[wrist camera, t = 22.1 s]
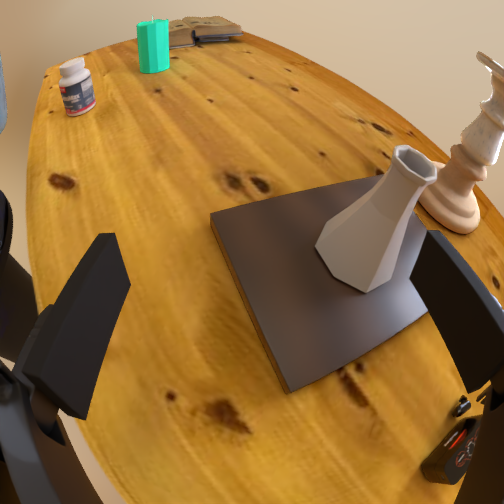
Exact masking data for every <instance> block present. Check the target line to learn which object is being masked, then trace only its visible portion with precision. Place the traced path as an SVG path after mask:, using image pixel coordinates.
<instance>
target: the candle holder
mask: <svg viewBox="0 0 504 504" xmlns="http://www.w3.org/2000/svg"><path fill="white" fill-rule="evenodd" d="M476 57H477V59H478V60H479V61H480V62H481V63H483V64H484V65H485V66H486V67H487V68H488V69H489V70H490V71H491V84H492V87H493V93H492V96H491V98H490V99H489V100H488V101H482V102H480V107H481V109H482V112H481V113H480V115H479V116H478V117H477V118H476V119H475V120H474V121H473V122H472V123H471V124H470V125H469V126H468V127H466V128H465V129H464V130H463V131H462V133H461V142H462V144H458V145H453V146H452V147H451V159H450V160H449V162H448V163H447V164H446V165H444V164H442V163H439V162H433V161H430V162H431V163H432V164H433V165H434V166H435V167H436V168H437V180H436V181H435V182H434V183H433V184H429V185H427V186H426V187H425V189H424V190H423V192H422V193H421V195H420V196H419V198H418V201H419V202H420V204H421V205H422V206H423V207H424V208H425V210H426V211H427V212H428V213H429V214H430V215H431V216H432V217H433V218H435V219H436V220H437V221H438V222H439V223H441V224H442V225H443V226H445V227H447V228H448V229H450V230H452V231H454V232H457V233H462V234H467V233H470V232H472V231H474V230H475V229H476V228H477V226H478V224H479V221H480V212H479V208H478V205H477V202H476V198H475V195H474V193H473V191H472V188H473V186H474V185H475V183H476V181H483V180H485V179H486V175H487V174H486V166H491V165H493V164H494V163H495V162H496V160H497V157H498V153H499V150H500V146H501V143H502V141H503V138H504V68H503V67H502V66H500V65H499V64H498V63H496V62H495V61H494V60H492V59H491V58H489V57H488V56H486V55H485V54H483V53H482V52H478V53H477V55H476Z"/></svg>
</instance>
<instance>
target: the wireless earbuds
mask: <svg viewBox="0 0 504 504" xmlns="http://www.w3.org/2000/svg"><path fill="white" fill-rule="evenodd" d="M459 402H461V404H459V405H458V406H456V407H455V408H454V409H453V411H452V415H453V417H459V416H461V415H463V414H464V413H465V412H466V411H468V410H469V409H470V408H471V403H470V401H468V400H467V397H465V396H464V395H462V396H461V398H460V399H459ZM482 415H483V414H481V415H476V416H471V417H466V418H463V419H461V420H460V421H459V423H458V424H457V425H456V426H455V428H454V429H453V430H452V431H451V432H450V434H449V435H448V436H447V437H446V438H445V439H444V441H443V442H442V443H441V444H440V445H439V446H438V447H437V448H436V449H435V451H434V452H433V453H432V454H431V455H430V456H429V457H428V458H427V459H426V460H425V461H424V462H423V464H422V470H423V471H424V473H425V475H426V477H427V479H428V480H429V482H432V483H439V484H448V485H454V484H456V483H457V482H458V481H459V480H460V479H461V477H462V476H463V475H464V474H465V473H466V471H467V469H468V466H469V463H470V460H471V457H472V454H473V450H474V447H475V443H476V440H477V436H478V432H479V428H480V424H481V419H482Z"/></svg>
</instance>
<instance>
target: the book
mask: <svg viewBox="0 0 504 504" xmlns="http://www.w3.org/2000/svg"><path fill="white" fill-rule="evenodd" d="M168 28H169V49H173V48H182V47H189V46H190V47H191V46H194V45H195V42H209V41H229V37H227V36H242V35H243V33H242V32H241V26H240V25H237V24H235V23H232V22H230V21H228V20H226V19H224V18H222V17H220V16H213V17H204V18H201V17H185V18H183V20H174V21H171V22H168ZM195 38H197V39H195Z"/></svg>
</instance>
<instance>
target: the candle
mask: <svg viewBox="0 0 504 504" xmlns="http://www.w3.org/2000/svg"><path fill="white" fill-rule="evenodd" d="M137 40H138V52H139V64H140V72H142V73H156V72H161V71H164V70H166V69H168V68H169V67H170V64H169V28H168V19H167V20H160V19H157V20H153V15H152V21H149V22H141V23H139V24H137Z"/></svg>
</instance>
